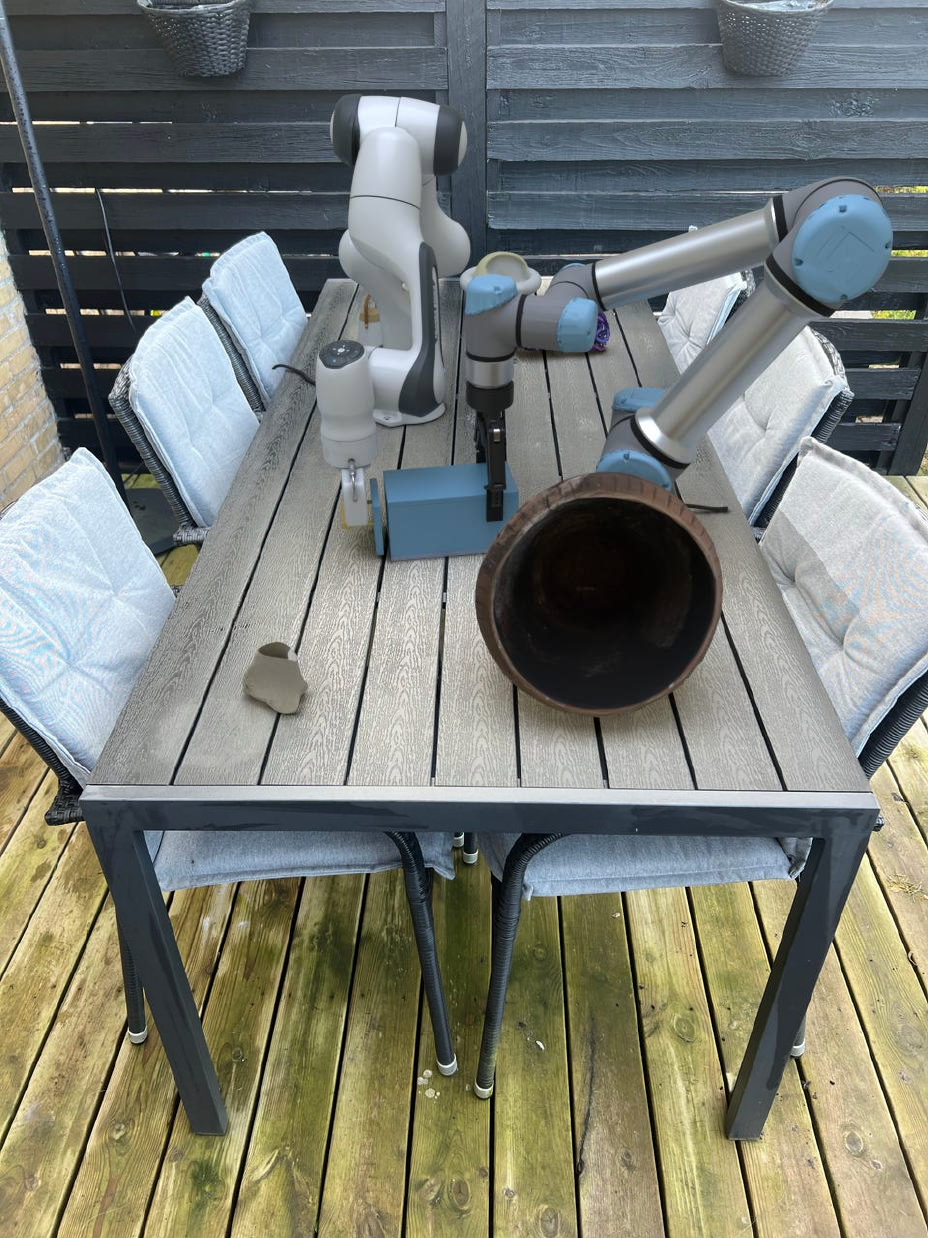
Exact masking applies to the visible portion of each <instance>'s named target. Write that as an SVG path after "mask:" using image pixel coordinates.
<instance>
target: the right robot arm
mask: <svg viewBox="0 0 928 1238" xmlns="http://www.w3.org/2000/svg"><path fill="white" fill-rule="evenodd" d="M890 219H891V218H890V217H889V214H888V213H887V212H886V210H885V207H884V204H883V201H882V197H881V196H880V194H879V192H878V191H877V190H876V189H875V188H874V187H873V186H872V185H871V184H870V183H868V182H866V181H865V180H863V179H860V178H858V177H853V176H845V175H843V176H842V175H840V176H839V175H838V176H833V177H829V178H825V179H822V180H819V181H816V182H813V183H810V184H807V185H804V186H801V187H798V188H796V189H793V190H790V191H788V192H785V193H781V194H779V195H776V196H772V197H770V198H769V200H768V201H767V202H766V204H765V206H764V207H762V208H759V209H757V210H753V211H750V212H747V213H744V214H740V215H738V216H735V217H732V218H727V219H725V220H722V221H719V222H716V223H713V224H710V225H706V226H703V227H701V228H698V229H697V228H696V229H694V230H691V231H688V232H685V233H682V234H679V235H676V236H673V237H669V238H666V239H662V240H660V241H656V242H654V243H651V244H648V245H644V246H642V247H638V248H635V249H632V250H629V251H626V252H622V253H619V254H616V255H613V256H610V257H607V258H604V259H600V260H598V261H595V262H591V263H588V264H584V263H579V262H573V263H569V264H566V265H564V266H563V267H562V268H561V269H559V271H558V272H557V273H555V274H554V275H553V276H552V278H551V280H550V283H549V285H548V287H547V289H546V291H545V292H544V294H543V295H539V294H538V295H537V294H536V295H534V294H531V295H527V294H519V293H518V290H517V288H516V282H515V280H514V279H512V278H511V277H509V276H503V275H500V274H486V275H481V276H477V277H475V278H473V279H472V280H471V281H470V282H469V283H468V284H467V288H466V292H465V307H464V308H465V309H464V310H463V311H464V318H465V319H464V320H465V321H464V322H465V323H464V324H465V354H464V357H465V359H464V360H465V362H464V363H465V379H466V382H465V402H466V405H467V406H468V407H469V408H470V409H472V410H473V411H475V416H474V417H475V419H474V433H473V442H474V443H475V445H474V448H475V451H477V452H475V464H477V463H486V466H487V479H488V484H487V485H485V486H483V487H484V490H485V489H486V521H487V522H495V521H503V493H504V490H506V488H507V485H506V471H505V461H506V450H505V434H506V429H505V419H504V417H503V416H502V412H503V411H505V410H508V409H509V408H510V407H512V406H513V404H514V399H515V394H514V393H515V382H514V378H515V367H514V366H515V365H517V364H518V363H519V358H518V357H515V355H516V352H515V346H516V347H527V348H529V349H530V348H536V349H537V350H538V349H544V350H546V351H548V350H549V351H552V350H554V351H555V352H556V351H557V352H563V353H568V354H569V353H587V352H590V351H589V350H590V349H591V348H592V347H593V344H594V340H595V336H596V329H597V320H598V314H599V313H602V312H603V313H605V312H608V311H611V310H615V309H617V308H618V309H619V308H621V307H625V306H629V305H631V304H635V303H638V302H642V301H646V300H649V299H652V298H656V297H659V296H663V295H666V294H669V293H673V292H676V291H680V290H682V289H687V288H690V287H693V286H697V285H700V284H705V283H707V282H710V281H714V280H718V279H721V278H724V277H727V276H731V275H734V274H738V273H742V272H745V271H748V270H752V269H756V268H758V267H762V266H763V274H764V275H763V276H764V277H763V280H762V281H761V282H760V283H759V284H758V285H757V287H756V288H755V289H754V290H753V291H752V292H751V294H749V296H748V297H747V298H746V299H745V300H744V302H743V303H742V304H741V305H740V306H739V307H738V308H737V310H736V311H735V312H734V313H733V314H732V315H731V317H730V318H729V319H728V320H727V321H726V323H725V324H724V325H723V326H722V327H721V328H720V329H719V330H718V331H717V333H716V334H715V335H714V336H713V337H712V338H711V340H710V341H709V342H708V343H707V344H706V345H705V346H704V348H703V349H702V350H700V352H699V353H698V355H697V356H696V357H695V358H694V360H692V361H691V363H690V364H689V365H688V366H687V367H686V369H685V370H684V371H682V373H681V374H680V375H679V376H678V378H677V379H676V380H675V381H674V382H673V383H672V385H671V386H670V387H669V388H668V389H667V390H666V389H662V388H656V387H644V386H641V387H640V386H639V387H638V386H637V387H629V388H628V387H627V388H624V389H622V390H619V391H618V392H616V393H615V395H614V396H613V399H612V404H611V406H610V407H611V408H610V409H611V419H610V426H609V429H608V432H607V436H606V439H605V442H604V445H603V448H602V451H601V455H600V457H599V460H598V462H597V465H596V466H595V472H600V471H605V472H621V473H627V474H633V475H636V476H639V477H641V478H644V479H646V480H649V481H651V482H654V483H655V484H657V485H659V486H661V487H663V488H665V489H666V490H668V491H669V492H671V493H672V494H674V495H675V496H676V497H678V493H677V490H676V485H675V482H676V480H677V479H678V478H679V477H680V476H681V475H682V474H683V473H684V472H685V471H686V470H687V469H688V468H689V467H690V465H691V464H692V463H693V462H694V461H695V460H696V459H697V444H698V442H700V440H701V439H702V438H704V437H705V435H706V434H707V433H708V432H709V430H711V429H712V428H713V427H714V426H715V424H716V423H717V422H718V421H719V420H720V419H721V418H722V417H723V416H724V415H725V413H727V412H728V411H729V409H731V408H732V406H733V405H734V404H735V403H736V402H737V401H738V400H739V399H740V398H741V396H743V394H744V393H745V392H746V391H747V390H748V389H749V388H750V387H751V386H752V385H753V384H754V383H755V382H756V381H757V380H758V378H759V377H760V376H761V375H762V374H763V373H764V372H765V371H766V370H767V369H768V368H769V367H770V366H771V365H772V363H773V362H774V361H775V360H776V359H777V358H778V357H779V356H780V355H781V354H782V353H783V352H784V351H785V350H786V349H787V347H788V346H789V345H790V344H791V343H792V342H793V341H794V340H795V339H796V338H797V337H798V336H799V334H801V332H802V331H803V330H804V329H805V328H806V327H807V326H808V325H809V324H810V323H811V322H812V321H818V320H820V321H821V320H828V319H830V318H831V317H832V316H833V315H834V314H835V313H836V312H837V311H838V310H839V308H841V307H842V306H843V304H844V303H845V302H847V301H851V300H853V299H856V298H858V297H860V296H862V295H863V294H865V293H866V292H868V291H869V290H870V289H871V288H872V287H873V286H875V285H876V283H877V282H878V281H879V280H880V279H881V278H882V276H883V275H884V272H885V271H886V269H887V267H888V265H889V262H890V259H891V256H892V251H893V244H894V243H893V242H894V231H893V227H892V226H893V225H892V222H891V220H890ZM683 503H684V504H685V505H686V506H687V507H688V508H689V509H696V510H702V511H709V512H710V511H711V512H726V511H729V506H728V505H727V506H709V505H702V504H694V503H685V502H683Z"/></svg>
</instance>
